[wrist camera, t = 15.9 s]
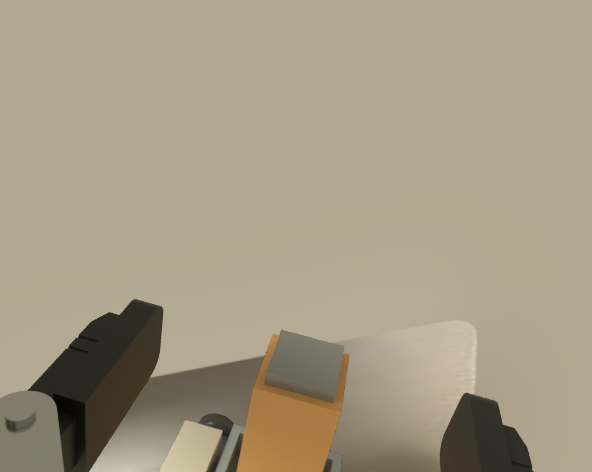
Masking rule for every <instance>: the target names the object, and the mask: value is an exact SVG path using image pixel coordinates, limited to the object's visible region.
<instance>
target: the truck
mask: <svg viewBox="0 0 592 472" xmlns="http://www.w3.org/2000/svg"><path fill="white" fill-rule="evenodd" d="M244 431H245V427H244V426H240V425H237V424H234V423H233V422H232V421H231V420H230V419H228V418H227V417H225V416H223V415H219V414H208V415H205V416H203V417H202V418H201V419H200V421H199V423H195V422H192V421H188V420H185V422H184V424H183V426H182V428H181V430H180V432H179V433H178V435H177V437H176V439H175V441H174V443H173V445H172V447H171V449H170V451H169V453H168V455H167V457H166V459H165V461H164V463H163V465H162V467H161V469H160V471H159V472H237V467H238V462H239V457H240V452H241V447H242V442H243V436H244ZM341 463H342V455H340V454H337V453H333V452H331V451H330V450H329V453H328V456H327V460H326V463H325V466H324V469H323V472H340V470H341Z"/></svg>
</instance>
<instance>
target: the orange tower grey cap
mask: <svg viewBox="0 0 592 472" xmlns="http://www.w3.org/2000/svg"><path fill="white" fill-rule="evenodd" d="M343 350H344V347H343V346H339V345H336V344H332V343H328V342H325V341H321V340H317V339H313V338H310V337H306V336H302V335H298V334H295V333H291V332H288V331H284V330H281V332H280V335H279V336H277V335H274V334H273V336H272V339H271V341H270V344H269V347H268V349H267V352H266V355H265V357H264V360H263V363H262V365H261V368H260V371H259V373H258V376H257V379H256V381H255V384H254V387H253V391H252V396H251V401H250V406H249V411H248V416H247V421H246V426H245V431H244V436H243V442H242V447H241V452H240V457H239V462H238V467H237V472H323V469H324V466H325V463H326V460H327V456H328V453H329V450H330V447H331V443H332V440H333V437H334V434H335V431H336V427H337V424H338V421H339V418H340V415H341V410H342V403H343V396H344V389H345V382H346V375H347V368H348V361H349V355H348V354H344V353H343Z"/></svg>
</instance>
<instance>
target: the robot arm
mask: <svg viewBox="0 0 592 472" xmlns="http://www.w3.org/2000/svg"><path fill="white" fill-rule="evenodd" d="M162 321H163V308H162V307H161V306H158V305H155V304H151V303H147V302H144V301H140V300H137V299H135V300H133V301H131V303H130V304H129V305H128V306H127V307H126V308H125V309H124V311H123V312H122V313H121V314H120V315H117V314H113V313H110V312H109V313H107V314H105V315H103V316H101V317H99V318H97V319H95V320H93V321H92V322H90V324H89V325H88V326H87V327H86V328H85V329H84V330H83V331H82V332H81V333H80V334H79V337H78V338H76V339H75V340H74V341H73V342H72V343H71V344H70V345H69V348H68V349H66V350H65V351H64V352H63V353H62V354H61V355H60V356H59V357H58V359H56V360H55V362H54V363H53V364H52V365H51V366H50V367H49V368H48V369H47V370H46V371H45V372H44V374H43V375H42V376H41V377H40V378H39V379H38V380H37V381H36V382H35V383H34V384H33V385H32V386H31V388H30V389H28V390H27V391H21V392H16V393H12V394H9V395H7V396H5V397H3V398H1V399H0V472H89V471H90V469H91V468H92V466H93V465H94V463H95V461H96V460H97V458H98V457H99V455H100V454H101V452H102V451H103V449H104V447H105V446H106V444H107V443H108V441H109V440H110V438H111V437H112V435H113V433H114V432H115V430H116V429H117V427H118V426H119V424H120V423H121V421H122V419H123V418H124V416H125V415H126V413H127V412H128V410H129V409H130V407H131V406H132V404H133V402H134V401H135V399H136V398H137V396H138V395H139V393H140V392H141V390H142V388H143V387H144V385H145V384H146V382H147V381H148V379H149V378H150V376H151V374H152V373H153V370H154V369H155V366H156V364H157V361H158V358H159V353H160V344H161V332H162ZM440 466H441V472H533V471H532V464H531V460H530V456H529V452H528V449H527V447H526V445H525V443H524V442H523V440H522V439H521V437H520V436H519V435H518V433H517V431H516V430H515V429H514V428H512V427H508V426H505V425H503V424H502V419H501V415H500V410H499V406H498V403H497V402H496V401H494V400H490V399H487V398H483V397H480V396H476V395H473V394H469V393H465V394H464V395H463V396H462V398H461V399H460V402H459V404H458V406H457V408H456V410H455V412H454V414H453V416H452V418H451V421H450V423H449V425H448V427H447V429H446V431H445V433H444V436H443V439H442V443H441V449H440Z"/></svg>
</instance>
